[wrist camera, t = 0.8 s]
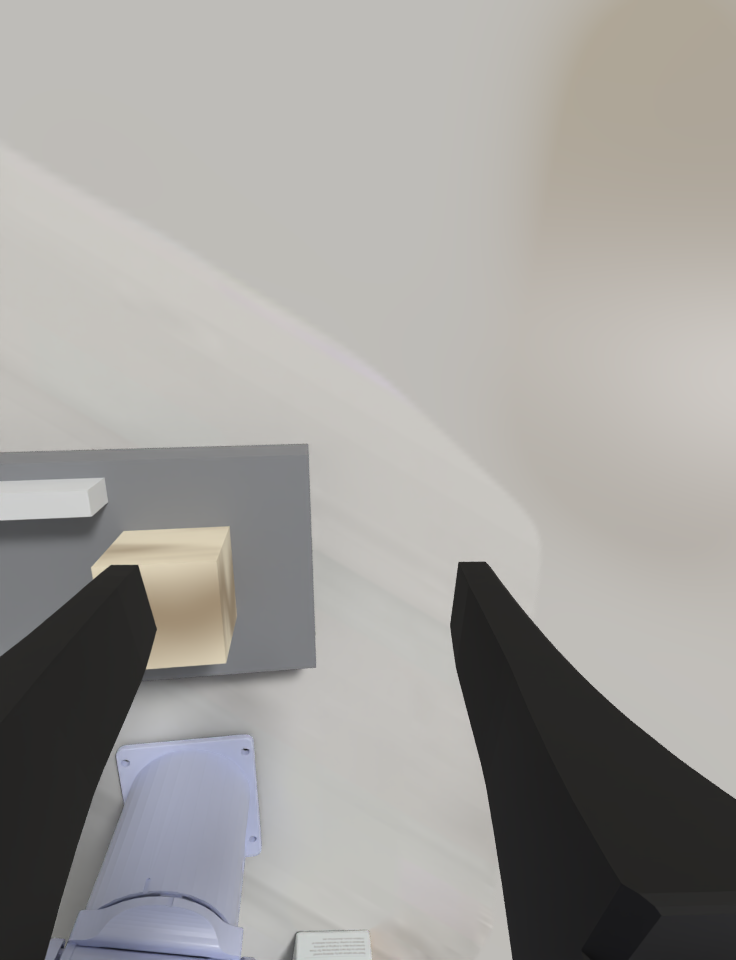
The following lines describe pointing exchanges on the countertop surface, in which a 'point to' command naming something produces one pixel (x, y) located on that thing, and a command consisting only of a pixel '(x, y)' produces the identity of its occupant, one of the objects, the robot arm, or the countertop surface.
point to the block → (183, 590)
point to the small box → (333, 945)
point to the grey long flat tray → (164, 505)
